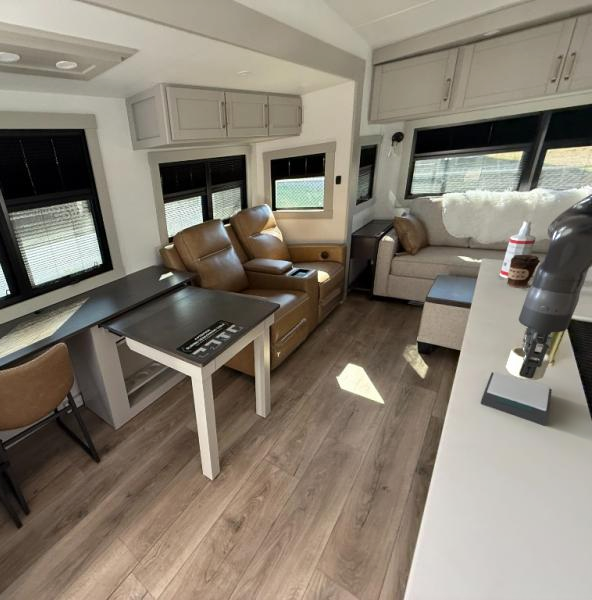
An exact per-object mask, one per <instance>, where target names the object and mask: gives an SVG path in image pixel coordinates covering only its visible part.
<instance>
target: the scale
mask: <svg viewBox="0 0 592 600" xmlns="http://www.w3.org/2000/svg"><path fill="white" fill-rule="evenodd" d="M552 390H553V389H552V388H550V386H547V385H543V384H540V383H537V382H533V381H531V380H526V379H522V378H519V377H516V376H513V375H512V376H511V375H508V374H505V373H502V372H497V371H494V372H493V371H492V372H490V376H489V378H488V381H487V383H486V386H485V388H484V391H483V394H482V396H481V400H480V403H481V404H480V405H483V406H486V407H488V406H489V407H488V408H492V409H493V410H497V411H500V412H503V413H506V414H509V415H512V416H515V417H517V418H519V419H520V418H521V419H524V420H527V421H530V422H532V423H535V424H538V425H541V426H546V424H547V422H548V420H549V414H550V408H551V407H550V406H551V398H552Z"/></svg>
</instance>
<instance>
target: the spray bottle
mask: <svg viewBox="0 0 592 600" xmlns="http://www.w3.org/2000/svg"><path fill="white" fill-rule="evenodd" d="M531 225H532V221H528V220H524V221H523V223H522V226H521V227H520V228H519V232H518V234H513V235H511V236H510V237H509V240H508V245H507V248H506V250H505V255H504V259H503V263H502V265H501V270H500V272H499V276H500V277H502V278H505V279H508V274H509V268H510V264H511V259H512V258H513V257H514V256H515V255H532V252H533V249H534V245H535V244H536V243H535V242H536V239H537V236H535V235H531V230H532V229H531Z"/></svg>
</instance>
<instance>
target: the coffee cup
mask: <svg viewBox="0 0 592 600" xmlns="http://www.w3.org/2000/svg"><path fill="white" fill-rule="evenodd" d="M539 258H540V257H539V256H536V255H532V254H531V255H515V256H514V257H513V258H512V259H511V264H510V268H509V274H508V278H507V282H506V284H507V285H508V286H510V287H513V288H521V289H522V288H523V289H525V288H528V286H529V282H530V280H531V279H532V278H533V277H534V275H535V273H536V270H537V268H538V266H539V265H540V263H541V261H540V259H539Z"/></svg>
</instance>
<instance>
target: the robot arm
mask: <svg viewBox="0 0 592 600" xmlns="http://www.w3.org/2000/svg"><path fill="white" fill-rule="evenodd" d="M547 235H548V238H549V239H550V241H549V245H548V249H547V252H546V254H545V257H544V260H542V261H540V262H539V264H538V265H537V267H536V270H535V273H534V276H533V277H534V278H533V280H532V284H531V286H530V287H529V289H528V291H527V292H526V296H525V299H524V301H523V305H522V307H521V311H520V314H519V317H518V322H519V323H520V324H521V325H523V326H524V327H526V328H525V329H524V335H523V338H522V342H523V343H522V347H524V348H523V352H525V356H524V359H523V364H522V367H521V369H520V372H519V375H520V376H522V377H526V378H530V379H531V378H533V376H534V373H535V371H536V368H537V367H540V366H541V365H542V361H543V359H544V357H545V355H546V354H547V352H548V349H550V346H549V345H550V344H551V343H552V339H553V336H551V335H552V333H561V332H562V333H563V332H565V331H566V330H567V329H568V328H569V325H570V324H571V320H572V318H573V317H574V316H573V315H574V313H575V310H576V309H577V306H578V303H579V300H580V294H581V291H582V289H583V287H584V284H585V281H586V278H587V276H588V271H589V269H590V268H591V267H592V193H591V194H589V195H588V196H586V197H584V198H583V199H581V200H580V201H578V202H576V203H575V204H573V205H572V206H570V207H569V208H567V209H566V210H565V211H562V213H560V214H559V215H558V216H557V217H555V218H554V219H553V220H552V221H551V222H550V224H549V226H548V228H547ZM528 348H529V349H528ZM530 357H534V358H537V360H534V359H530Z"/></svg>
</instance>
